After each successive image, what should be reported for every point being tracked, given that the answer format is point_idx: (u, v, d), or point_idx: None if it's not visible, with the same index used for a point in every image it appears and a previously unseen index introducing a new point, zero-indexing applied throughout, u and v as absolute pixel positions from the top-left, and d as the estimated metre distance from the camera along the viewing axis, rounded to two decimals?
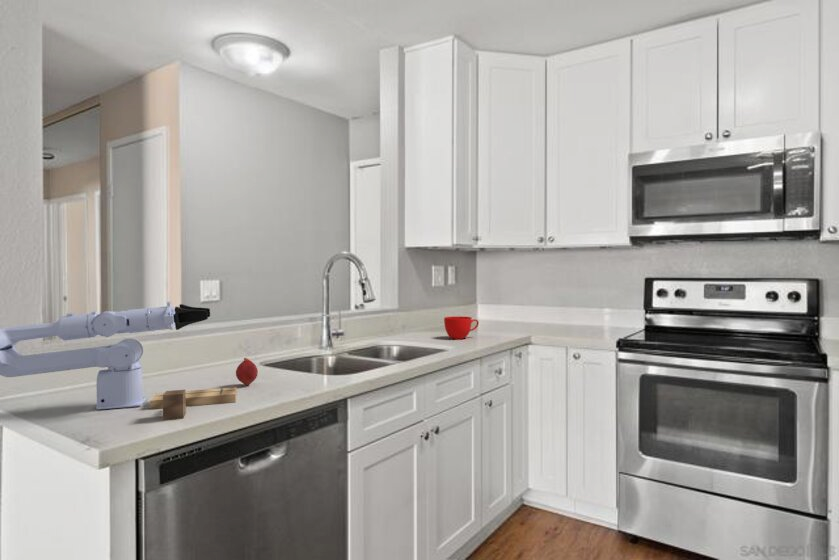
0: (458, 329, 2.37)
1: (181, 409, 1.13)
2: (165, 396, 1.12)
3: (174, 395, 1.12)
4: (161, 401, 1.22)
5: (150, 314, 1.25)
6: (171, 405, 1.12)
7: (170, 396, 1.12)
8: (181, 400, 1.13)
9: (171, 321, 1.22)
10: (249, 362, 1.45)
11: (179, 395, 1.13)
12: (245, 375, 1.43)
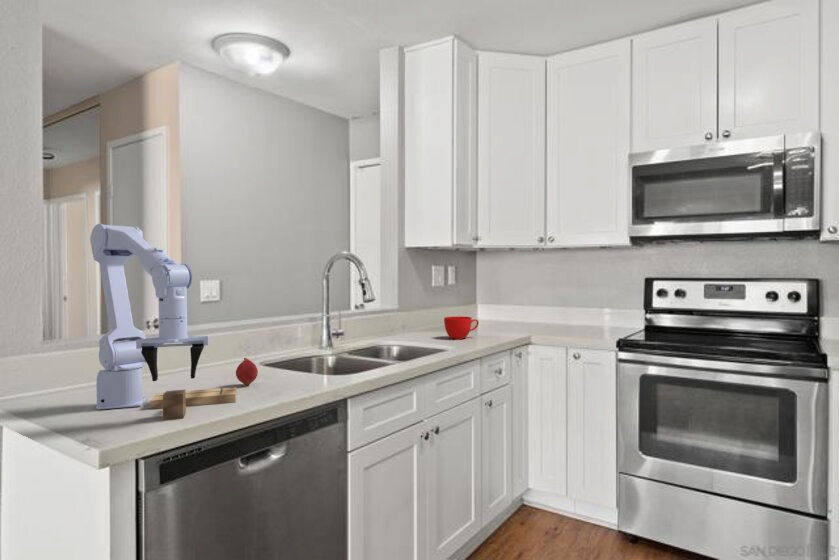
0: (458, 329, 2.37)
1: (181, 409, 1.13)
2: (165, 396, 1.12)
3: (174, 395, 1.12)
4: (161, 401, 1.22)
5: (159, 322, 1.12)
6: (171, 405, 1.12)
7: (170, 396, 1.12)
8: (181, 400, 1.13)
9: None
10: (249, 362, 1.45)
11: (179, 395, 1.13)
12: (245, 375, 1.43)
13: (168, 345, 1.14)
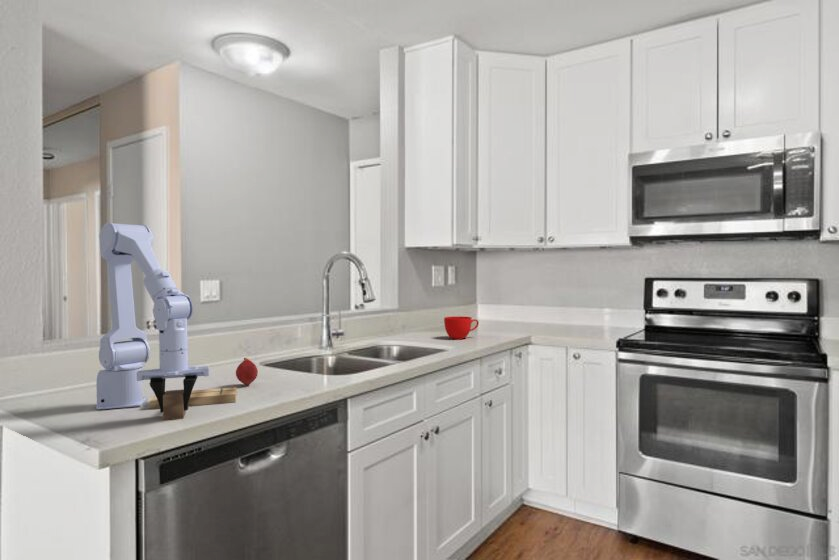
0: (458, 329, 2.37)
1: (181, 409, 1.13)
2: (165, 396, 1.12)
3: (174, 395, 1.12)
4: None
5: (160, 354, 1.12)
6: (171, 405, 1.12)
7: (170, 396, 1.12)
8: (181, 400, 1.13)
9: None
10: (249, 362, 1.45)
11: (179, 395, 1.13)
12: (245, 375, 1.43)
13: (169, 377, 1.14)
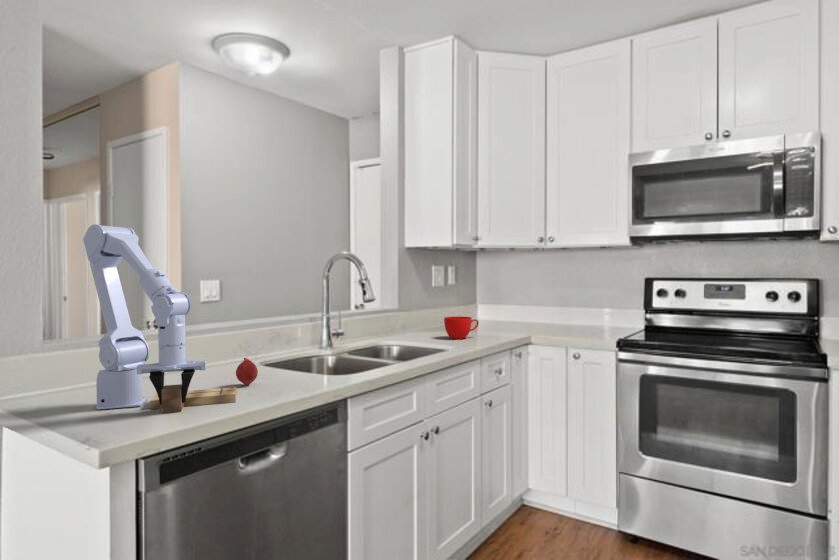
0: (458, 329, 2.37)
1: (179, 403, 1.18)
2: (164, 390, 1.17)
3: (172, 389, 1.18)
4: None
5: (159, 349, 1.18)
6: (169, 399, 1.18)
7: (168, 390, 1.18)
8: (179, 394, 1.18)
9: None
10: (249, 362, 1.45)
11: (177, 389, 1.18)
12: (245, 375, 1.43)
13: (167, 370, 1.19)
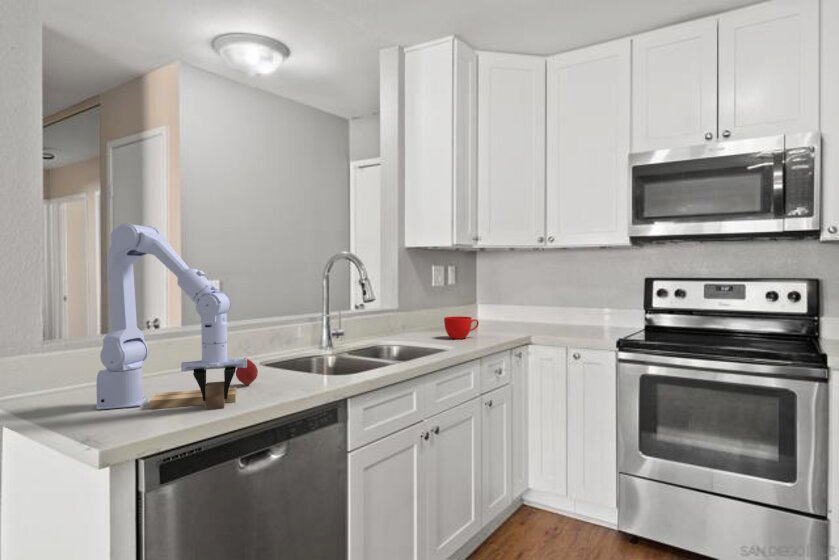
0: (458, 329, 2.37)
1: (222, 399, 1.21)
2: (207, 387, 1.20)
3: (215, 386, 1.21)
4: (161, 401, 1.22)
5: (202, 346, 1.21)
6: (213, 395, 1.20)
7: (212, 387, 1.20)
8: (222, 391, 1.21)
9: None
10: (249, 362, 1.45)
11: (220, 386, 1.21)
12: (245, 375, 1.43)
13: (210, 368, 1.22)
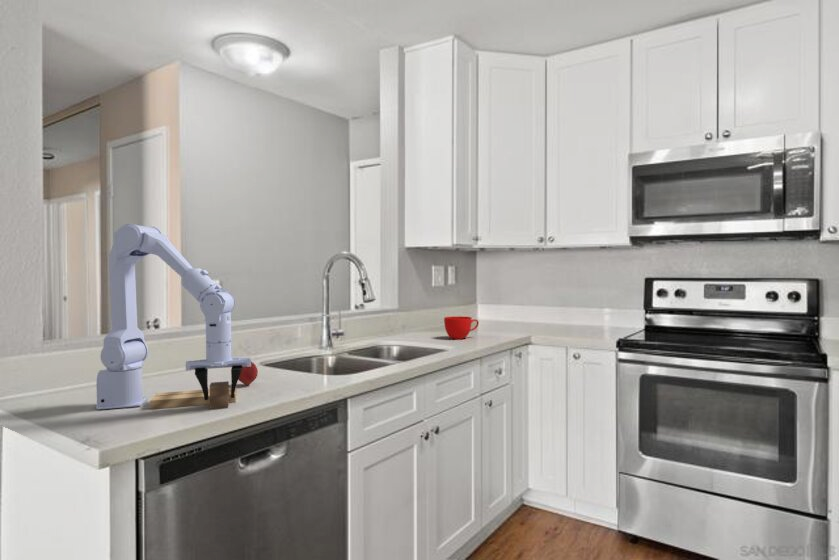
0: (458, 329, 2.37)
1: (226, 399, 1.21)
2: (211, 387, 1.20)
3: (220, 386, 1.21)
4: (161, 401, 1.22)
5: (207, 346, 1.21)
6: (217, 395, 1.21)
7: (216, 387, 1.21)
8: (226, 391, 1.21)
9: None
10: None
11: (224, 386, 1.21)
12: (245, 375, 1.43)
13: (214, 367, 1.23)
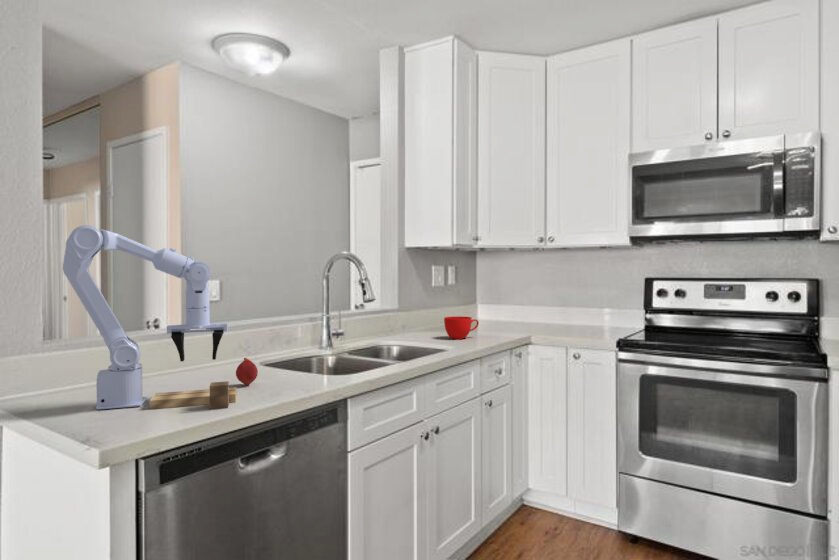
0: (458, 329, 2.37)
1: (226, 399, 1.21)
2: (211, 387, 1.20)
3: (220, 386, 1.21)
4: (161, 401, 1.22)
5: (186, 311, 1.32)
6: (217, 395, 1.21)
7: (216, 387, 1.21)
8: (226, 391, 1.21)
9: None
10: (249, 362, 1.45)
11: (224, 386, 1.21)
12: (245, 375, 1.43)
13: (193, 331, 1.33)
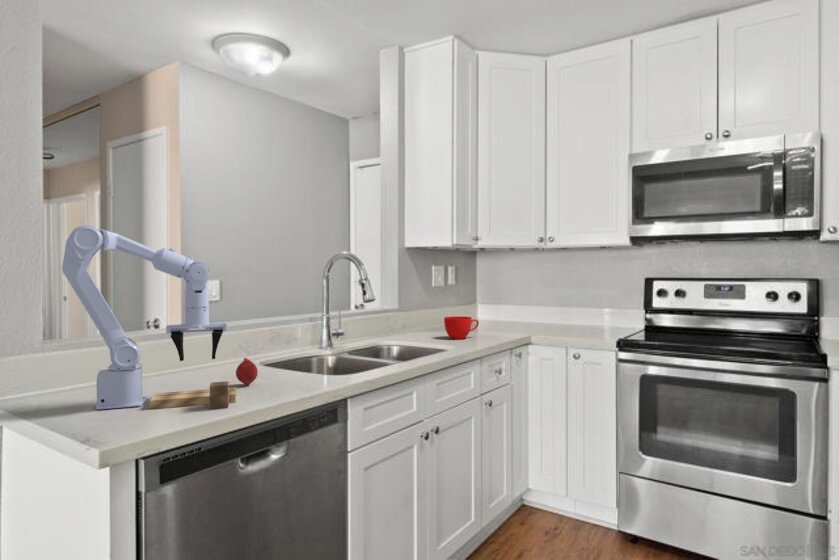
0: (458, 329, 2.37)
1: (226, 399, 1.21)
2: (211, 387, 1.20)
3: (220, 386, 1.21)
4: (161, 401, 1.22)
5: (186, 311, 1.32)
6: (217, 395, 1.21)
7: (216, 387, 1.21)
8: (226, 391, 1.21)
9: None
10: (249, 362, 1.45)
11: (224, 386, 1.21)
12: (245, 375, 1.43)
13: (193, 330, 1.34)
